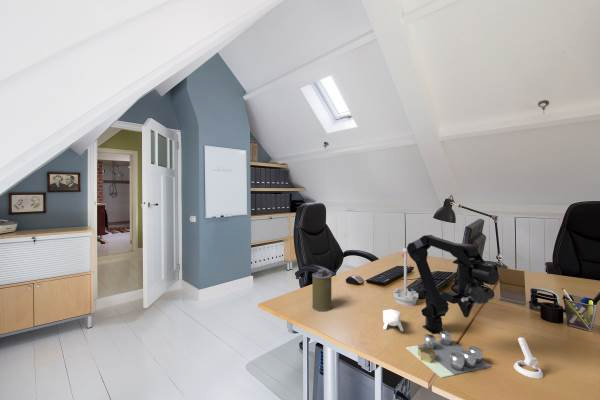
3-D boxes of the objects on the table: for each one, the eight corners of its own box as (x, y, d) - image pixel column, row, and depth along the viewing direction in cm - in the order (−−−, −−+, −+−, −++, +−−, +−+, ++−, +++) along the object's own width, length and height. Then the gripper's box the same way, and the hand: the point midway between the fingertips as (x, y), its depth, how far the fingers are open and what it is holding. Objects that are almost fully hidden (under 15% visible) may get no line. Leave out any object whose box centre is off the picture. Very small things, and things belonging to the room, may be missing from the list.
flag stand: (422, 306, 145) (422, 250, 144) (397, 306, 145) (397, 250, 144) (412, 297, 158) (412, 245, 157) (390, 297, 158) (390, 245, 157)
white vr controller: (512, 340, 101) (531, 337, 96) (529, 379, 94) (550, 378, 89) (498, 340, 99) (517, 336, 94) (514, 379, 92) (536, 378, 87)
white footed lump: (381, 327, 128) (384, 330, 114) (381, 308, 131) (383, 309, 117) (400, 329, 126) (405, 332, 113) (399, 310, 129) (404, 310, 116)
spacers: (420, 344, 108) (421, 334, 108) (448, 339, 111) (448, 329, 111) (457, 372, 91) (457, 360, 91) (488, 365, 95) (488, 353, 94)
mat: (405, 347, 106) (405, 347, 106) (449, 339, 112) (449, 339, 112) (441, 378, 89) (441, 377, 89) (491, 366, 94) (491, 365, 94)
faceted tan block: (415, 356, 100) (415, 348, 100) (425, 352, 103) (425, 344, 102) (427, 364, 95) (427, 355, 95) (437, 359, 98) (437, 351, 98)
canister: (325, 313, 137) (325, 273, 137) (308, 308, 143) (308, 270, 143) (335, 306, 146) (335, 269, 145) (319, 301, 152) (319, 266, 151)
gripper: (464, 286, 95) (463, 330, 96) (505, 281, 100) (504, 323, 100) (440, 276, 106) (440, 316, 107) (478, 273, 111) (478, 311, 111)
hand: (466, 316), depth 106 cm, fingers closed
